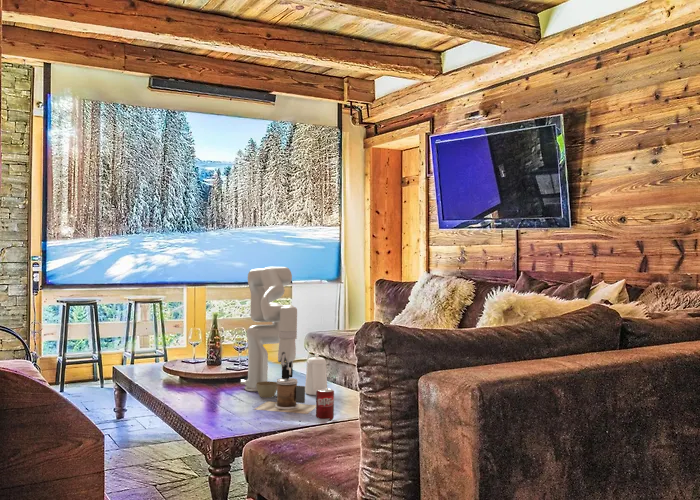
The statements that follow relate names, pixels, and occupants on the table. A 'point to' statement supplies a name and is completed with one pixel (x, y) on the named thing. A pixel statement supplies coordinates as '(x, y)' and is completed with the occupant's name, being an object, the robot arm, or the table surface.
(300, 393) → the mug
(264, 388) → the flower pot
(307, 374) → the coffeepot
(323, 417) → the soda can
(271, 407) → the serving board
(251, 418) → the table surface
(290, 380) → the silver knobbed lid
